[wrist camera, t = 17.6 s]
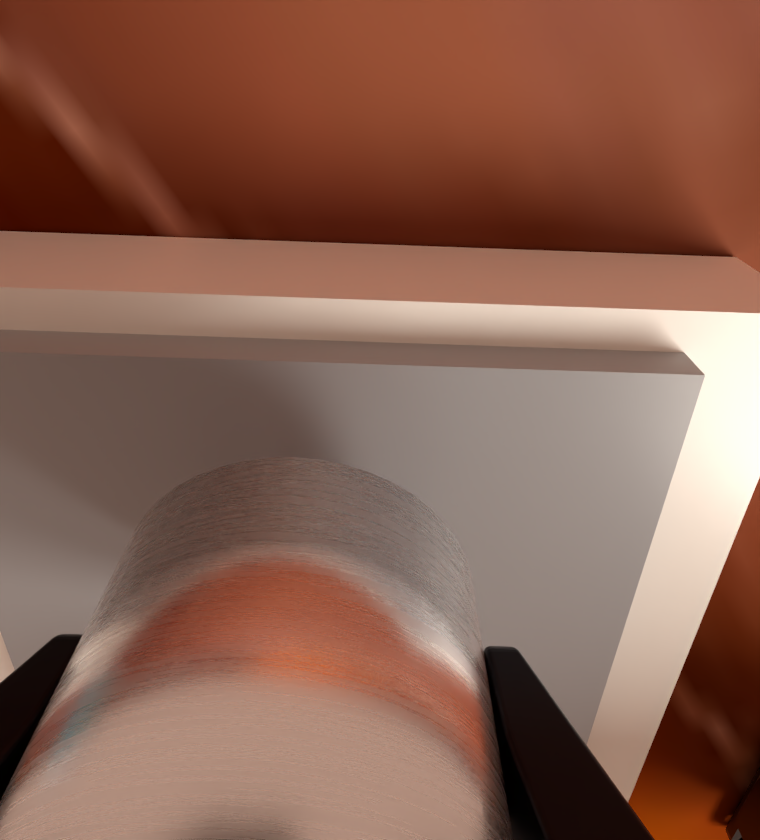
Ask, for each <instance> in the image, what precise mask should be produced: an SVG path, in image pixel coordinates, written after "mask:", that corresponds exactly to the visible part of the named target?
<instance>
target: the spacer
mask: <svg viewBox="0 0 760 840" xmlns="http://www.w3.org/2000/svg"><path fill="white" fill-rule="evenodd" d="M0 840H513V835H512V829H511V823H510V816H509V810H508V804H507V797H506V791H505V785H504V778H503V772H502V766H501V759H500V753H499V747H498V740H497V734H496V728H495V721H494V715H493V709H492V702H491V696H490V690H489V683H488V677H487V671H486V664H485V658H484V652H483V645H482V639H481V633H480V626H479V620H478V614H477V607H476V601H475V595H474V588H473V582H472V576H471V571H470V568H469V565H468V561H467V558H466V555H465V553H464V552H463V550H462V548H461V546H460V544H459V542H458V540H457V538H456V537H455V535H454V534H453V533H452V531H451V530H450V529H449V527H448V526H447V524H446V523H445V522H444V521H443V520H442V519H441V518H440V517H439V516H438V515H437V514H436V513H435V512H434V511H433V510H432V509H431V508H430V507H429V506H427V505H426V504H425V503H424V502H422V501H421V500H420V499H418V498H417V497H416V496H415V495H413V494H412V493H410V492H408V491H407V490H405V489H403V488H402V487H400V486H398V485H397V484H395V483H393V482H391V481H389V480H387V479H384V478H382V477H380V476H377V475H375V474H373V473H371V472H368V471H365V470H361V469H358V468H355V467H352V466H349V465H345V464H340V463H335V462H330V461H325V460H320V459H309V458H297V457H279V458H262V459H254V460H247V461H241V462H237V463H233V464H229V465H225V466H221V467H218V468H215V469H212V470H210V471H207V472H205V473H202V474H199V475H197V476H195V477H193V478H191V479H189V480H188V481H186V482H184V483H182V484H180V485H178V486H177V487H175V488H174V489H173V490H171V491H170V492H169V493H167V494H166V495H165V496H163V497H162V498H161V499H159V500H158V501H157V502H156V503H155V505H154V506H153V507H152V508H151V509H150V510H149V511H148V512H147V513H146V514H145V515H144V517H143V518H142V520H141V521H140V523H139V524H138V525H137V527H136V528H135V530H134V532H133V534H132V536H131V538H130V540H129V542H128V544H127V546H126V548H125V550H124V552H123V554H122V556H121V558H120V560H119V562H118V564H117V566H116V568H115V570H114V572H113V574H112V576H111V578H110V580H109V582H108V584H107V586H106V589H105V591H104V593H103V595H102V597H101V599H100V601H99V603H98V605H97V607H96V609H95V611H94V613H93V615H92V617H91V619H90V621H89V623H88V625H87V627H86V629H85V631H84V633H83V635H82V637H81V639H80V641H79V643H78V645H77V647H76V649H75V651H74V653H73V655H72V657H71V659H70V661H69V663H68V665H67V667H66V669H65V671H64V673H63V675H62V677H61V679H60V681H59V683H58V685H57V687H56V689H55V691H54V693H53V695H52V697H51V699H50V701H49V703H48V705H47V707H46V710H45V712H44V714H43V716H42V718H41V720H40V722H39V724H38V726H37V728H36V730H35V732H34V734H33V736H32V738H31V740H30V742H29V744H28V746H27V748H26V750H25V752H24V754H23V756H22V758H21V760H20V762H19V764H18V766H17V768H16V770H15V772H14V774H13V776H12V778H11V780H10V782H9V784H8V786H7V788H6V790H5V792H4V794H3V796H2V798H1V800H0Z"/></svg>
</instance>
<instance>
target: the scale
mask: <svg viewBox="0 0 760 840" xmlns="http://www.w3.org/2000/svg"><path fill="white" fill-rule="evenodd" d="M279 457H297V458H309V459H320V460H325V461H330V462H335V463H340V464H345V465H349V466H352V467H355V468H358V469H361V470H365V471H368V472H371V473H373V474H375V475H377V476H380V477H382V478H384V479H387V480H389V481H391V482H393V483H395V484H397V485H398V486H400V487H402V488H403V489H405V490H407V491H408V492H410V493H412V494H413V495H415V496H416V497H417V498H418V499H420V500H421V501H422V502H424V503H425V504H426V505H427V506H429V507H430V508H431V509H432V510H433V511H434V512H435V513H436V514H437V515H438V516H439V517H440V518H441V519H442V520H443V521H444V522H445V523H446V524H447V526H448V527H449V529H450V530H451V531H452V533H453V534H454V535H455V537H456V538H457V540H458V542H459V544H460V546H461V548H462V550H463V552H464V553H465V555H466V558H467V561H468V565H469V568H470V571H471V576H472V582H473V588H474V595H475V601H476V607H477V614H478V620H479V626H480V633H481V639H482V645H483V651H484V649H485V648H486V647H488V646H511V647H514V648H516V649H518V650H519V652H520V653H521V654H522V656H523V657H524V658H525V660H526V661H527V663H528V664H529V665H530V667H531V668H532V670H533V671H534V672H535V674H536V675H537V676H538V678H539V679H540V681H541V682H542V683H543V685H544V686H545V688H546V689H547V690H548V692H549V693H550V695H551V696H552V697H553V699H554V700H555V702H556V703H557V704H558V706H559V707H560V709H561V710H562V711H563V713H564V714H565V716H566V717H567V718H568V720H569V721H570V723H571V724H572V725H573V727H574V728H575V730H576V731H577V732H578V734H579V735H580V737H581V738H582V739H583V741H584V742H585V743H586V745H587V746H588V748H589V749H590V750H591V752H592V753H593V755H594V756H595V757H596V759H597V760H598V762H599V763H600V764H601V766H602V767H603V769H604V770H605V771H606V773H607V774H608V776H609V777H610V778H611V780H612V781H613V783H614V784H615V785H616V787H617V788H618V790H619V791H620V792H621V794H622V795H623V797H624V798H625V799H626V801H627V802H628V801H629V799H630V796H631V794H632V792H633V789H634V787H635V784H636V782H637V779H638V777H639V774H640V772H641V769H642V767H643V764H644V762H645V759H646V757H647V754H648V752H649V749H650V747H651V744H652V742H653V740H654V737H655V735H656V732H657V730H658V727H659V725H660V722H661V720H662V717H663V715H664V712H665V710H666V707H667V705H668V702H669V700H670V697H671V695H672V692H673V690H674V687H675V685H676V683H677V680H678V678H679V675H680V673H681V670H682V668H683V665H684V663H685V660H686V658H687V655H688V653H689V650H690V648H691V645H692V643H693V640H694V638H695V635H696V633H697V631H698V628H699V626H700V623H701V621H702V618H703V616H704V613H705V611H706V608H707V606H708V603H709V601H710V598H711V596H712V593H713V591H714V588H715V586H716V583H717V581H718V578H719V576H720V574H721V571H722V569H723V566H724V564H725V561H726V559H727V556H728V554H729V551H730V549H731V546H732V544H733V541H734V539H735V536H736V534H737V531H738V529H739V526H740V524H741V522H742V519H743V517H744V514H745V512H746V509H747V507H748V504H749V502H750V499H751V497H752V494H753V492H754V489H755V487H756V484H757V482H758V479H759V477H760V273H759V272H758V271H756V270H755V269H753V268H752V267H750V266H749V265H747V264H746V263H744V262H743V261H741V260H740V259H738V258H737V257H719V256H691V255H663V254H635V253H607V252H579V251H551V250H523V249H495V248H467V247H439V246H411V245H383V244H355V243H326V242H298V241H270V240H242V239H214V238H186V237H158V236H130V235H102V234H74V233H46V232H18V231H0V682H2V681H3V680H4V679H5V678H6V677H7V676H9V675H10V674H11V673H12V672H13V671H14V670H16V669H17V668H18V667H19V666H20V665H21V664H23V663H24V662H25V661H26V660H27V659H29V658H30V657H31V656H32V655H33V654H34V653H36V652H37V651H38V650H39V649H40V648H41V647H43V646H44V645H45V644H46V643H47V642H48V641H50V640H51V639H52V638H53V637H55V636H57V635H60V634H83V633H84V631H85V629H86V627H87V625H88V623H89V621H90V619H91V617H92V615H93V613H94V611H95V609H96V607H97V605H98V603H99V601H100V599H101V597H102V595H103V593H104V591H105V589H106V586H107V584H108V582H109V580H110V578H111V576H112V574H113V572H114V570H115V568H116V566H117V564H118V562H119V560H120V558H121V556H122V554H123V552H124V550H125V548H126V546H127V544H128V542H129V540H130V538H131V536H132V534H133V532H134V530H135V528H136V527H137V525H138V524H139V523H140V521H141V520H142V518H143V517H144V515H145V514H146V513H147V512H148V511H149V510H150V509H151V508H152V507H153V506H154V505H155V503H156V502H157V501H158V500H159V499H161V498H162V497H163V496H165V495H166V494H167V493H169V492H170V491H171V490H173V489H174V488H175V487H177V486H178V485H180V484H182V483H184V482H186V481H188V480H189V479H191V478H193V477H195V476H197V475H199V474H202V473H205V472H207V471H210V470H212V469H215V468H218V467H221V466H225V465H229V464H233V463H237V462H241V461H247V460H254V459H262V458H279Z"/></svg>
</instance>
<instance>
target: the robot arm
mask: <svg viewBox="0 0 760 840" xmlns="http://www.w3.org/2000/svg"><path fill="white" fill-rule="evenodd" d="M82 635H83V634H60V635H57V636H55V637H53V638H52V639H51V640H50V641H48V642H47V643H46V644H45V645H44V646H43V647H41V648H40V649H39V650H38V651H37V652H36V653H34V654H33V655H32V656H31V657H30V658H29V659H27V660H26V661H25V662H24V663H23V664H21V665H20V666H19V667H18V668H17V669H16V670H14V671H13V672H12V673H11V674H10V675H9V676H7V677H6V678H5V679H4V680H3V681H2V682H0V800H1V798H2V796H3V794H4V792H5V790H6V788H7V786H8V784H9V782H10V780H11V778H12V776H13V774H14V772H15V770H16V768H17V766H18V764H19V762H20V760H21V758H22V756H23V754H24V752H25V750H26V748H27V746H28V744H29V742H30V740H31V738H32V736H33V734H34V732H35V730H36V728H37V726H38V724H39V722H40V720H41V718H42V716H43V714H44V712H45V710H46V707H47V705H48V703H49V701H50V699H51V697H52V695H53V693H54V691H55V689H56V687H57V685H58V683H59V681H60V679H61V677H62V675H63V673H64V671H65V669H66V667H67V665H68V663H69V661H70V659H71V657H72V655H73V653H74V651H75V649H76V647H77V645H78V643H79V641H80V639H81V637H82ZM483 652H484V658H485V664H486V671H487V677H488V683H489V690H490V696H491V702H492V709H493V715H494V721H495V728H496V734H497V740H498V747H499V753H500V759H501V766H502V772H503V778H504V785H505V791H506V797H507V804H508V810H509V816H510V823H511V829H512V835H513V840H654V838H653V837H652V836H651V834H650V833H649V831H648V830H647V829H646V827H645V826H644V824H643V823H642V822H641V820H640V819H639V817H638V816H637V815H636V813H635V812H634V811H633V809H632V808H631V806H630V805H629V804H628V802H627V801H626V799H625V798H624V797H623V795H622V794H621V792H620V791H619V790H618V788H617V787H616V785H615V784H614V783H613V781H612V780H611V778H610V777H609V776H608V774H607V773H606V771H605V770H604V769H603V767H602V766H601V764H600V763H599V762H598V760H597V759H596V757H595V756H594V755H593V753H592V752H591V750H590V749H589V748H588V746H587V745H586V743H585V742H584V741H583V739H582V738H581V737H580V735H579V734H578V732H577V731H576V730H575V728H574V727H573V725H572V724H571V723H570V721H569V720H568V718H567V717H566V716H565V714H564V713H563V711H562V710H561V709H560V707H559V706H558V704H557V703H556V702H555V700H554V699H553V697H552V696H551V695H550V693H549V692H548V690H547V689H546V688H545V686H544V685H543V683H542V682H541V681H540V679H539V678H538V676H537V675H536V674H535V672H534V671H533V670H532V668H531V667H530V665H529V664H528V663H527V661H526V660H525V658H524V657H523V656H522V654H521V653H520V652H519V650H518V649H516V648H514V647H511V646H488V647H486V648H485V649H484V651H483ZM726 832H727V835H728V837H729V839H730V840H760V768H759V770H758V772H757V773H756V775H755V777H754V779H753V780H752V782H751V784H750V786H749V788H748V789H747V791H746V793H745V795H744V797H743V798H742V800H741V802H740V804H739V806H738V807H737V809H736V811H735V813H734V815H733V816H732V818H731V820H730V822H729V823H728V825H727V827H726Z"/></svg>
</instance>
